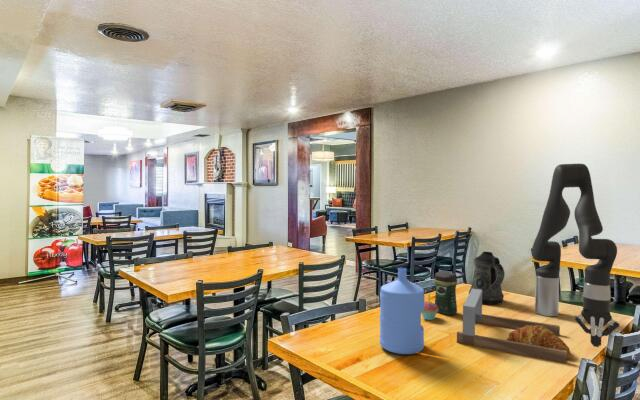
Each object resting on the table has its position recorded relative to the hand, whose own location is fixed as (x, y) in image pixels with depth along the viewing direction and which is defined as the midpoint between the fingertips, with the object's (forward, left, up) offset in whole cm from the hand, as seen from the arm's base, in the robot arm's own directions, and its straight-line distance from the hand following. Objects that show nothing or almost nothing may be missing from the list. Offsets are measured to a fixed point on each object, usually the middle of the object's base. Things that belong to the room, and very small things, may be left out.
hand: (595, 346), depth 129 cm
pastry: (+4, -17, -3) cm, 18 cm away
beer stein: (-50, -38, -3) cm, 63 cm away
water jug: (+27, -61, -3) cm, 66 cm away
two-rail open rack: (0, -26, -2) cm, 26 cm away
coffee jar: (-20, -54, -3) cm, 57 cm away
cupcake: (-8, -59, -3) cm, 59 cm away
